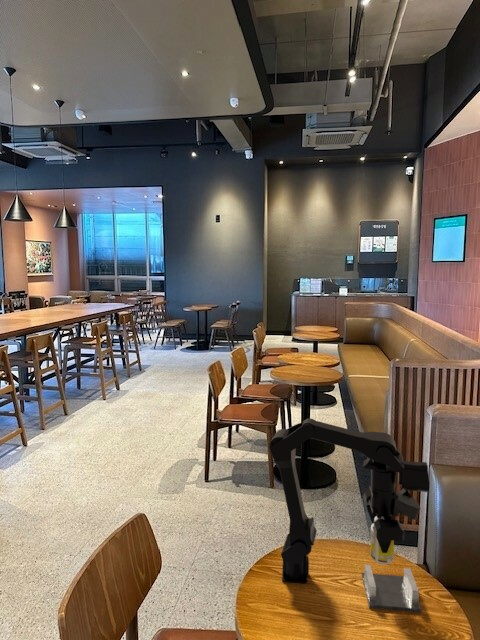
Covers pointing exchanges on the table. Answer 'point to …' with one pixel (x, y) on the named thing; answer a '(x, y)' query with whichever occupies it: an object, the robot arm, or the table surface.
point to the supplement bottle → (376, 550)
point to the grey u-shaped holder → (391, 591)
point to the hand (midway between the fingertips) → (382, 545)
